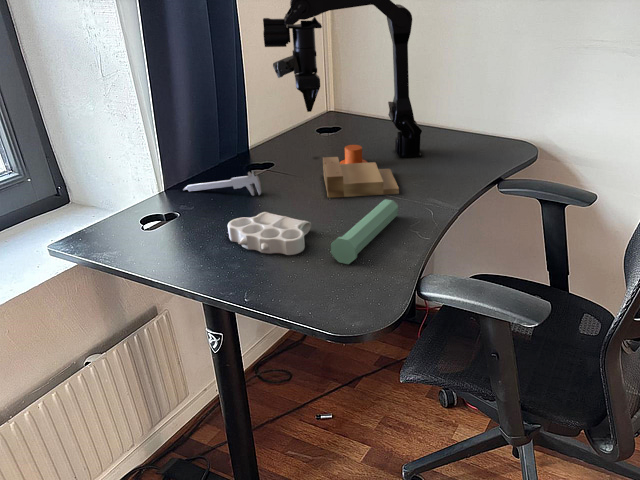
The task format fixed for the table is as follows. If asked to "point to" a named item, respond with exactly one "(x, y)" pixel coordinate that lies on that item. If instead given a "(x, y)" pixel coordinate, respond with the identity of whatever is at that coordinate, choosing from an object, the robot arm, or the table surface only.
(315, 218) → the table surface
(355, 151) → the hat
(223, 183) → the caliper
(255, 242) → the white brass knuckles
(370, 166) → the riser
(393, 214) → the mint green bar
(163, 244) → the table surface
